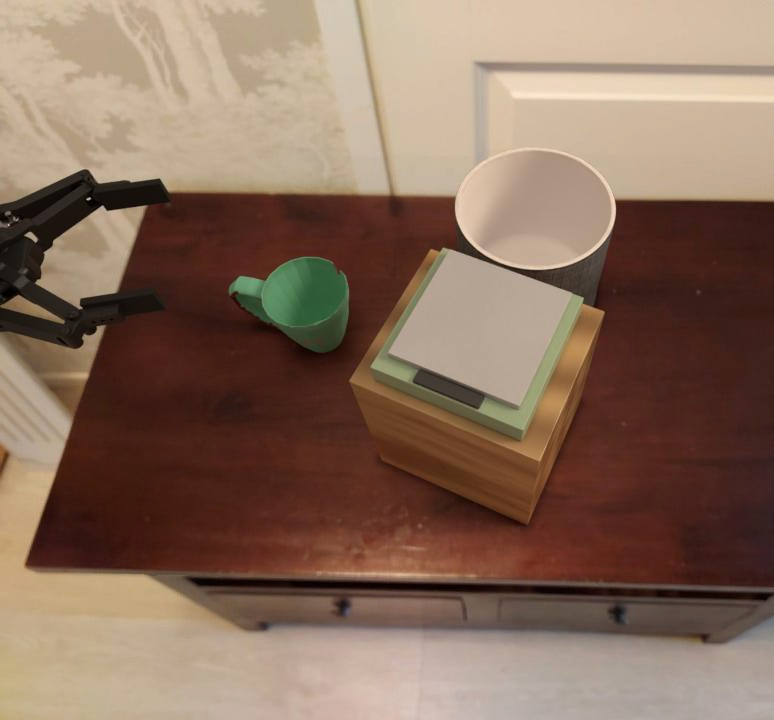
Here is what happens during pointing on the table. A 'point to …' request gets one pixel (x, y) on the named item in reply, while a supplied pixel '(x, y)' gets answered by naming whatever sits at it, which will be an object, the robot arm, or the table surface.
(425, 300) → the scale
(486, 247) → the planter
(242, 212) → the table surface
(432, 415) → the riser
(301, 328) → the mug
